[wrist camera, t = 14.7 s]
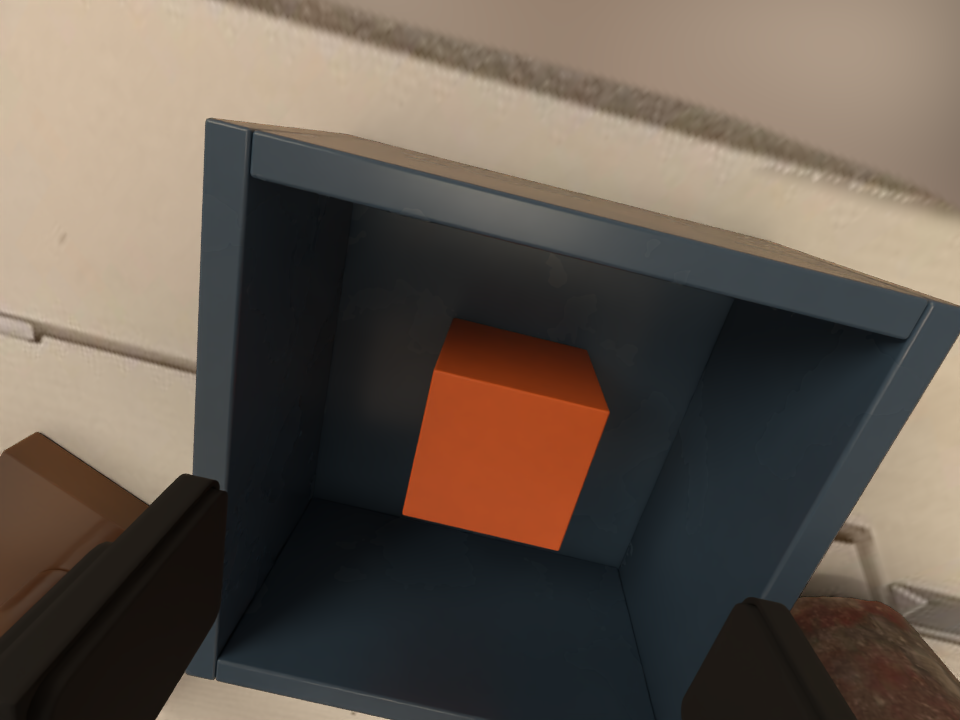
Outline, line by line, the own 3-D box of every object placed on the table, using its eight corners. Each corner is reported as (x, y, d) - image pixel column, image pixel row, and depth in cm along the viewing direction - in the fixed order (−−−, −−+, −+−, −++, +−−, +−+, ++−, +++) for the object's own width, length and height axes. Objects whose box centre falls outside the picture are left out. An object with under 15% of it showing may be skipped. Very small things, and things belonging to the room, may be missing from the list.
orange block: (426, 434, 19) (401, 515, 15) (453, 316, 17) (433, 369, 13) (549, 464, 19) (559, 552, 15) (587, 349, 17) (611, 412, 13)
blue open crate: (298, 495, 21) (184, 675, 14) (344, 133, 16) (203, 116, 9) (627, 572, 21) (685, 786, 14) (772, 241, 16) (977, 311, 9)
